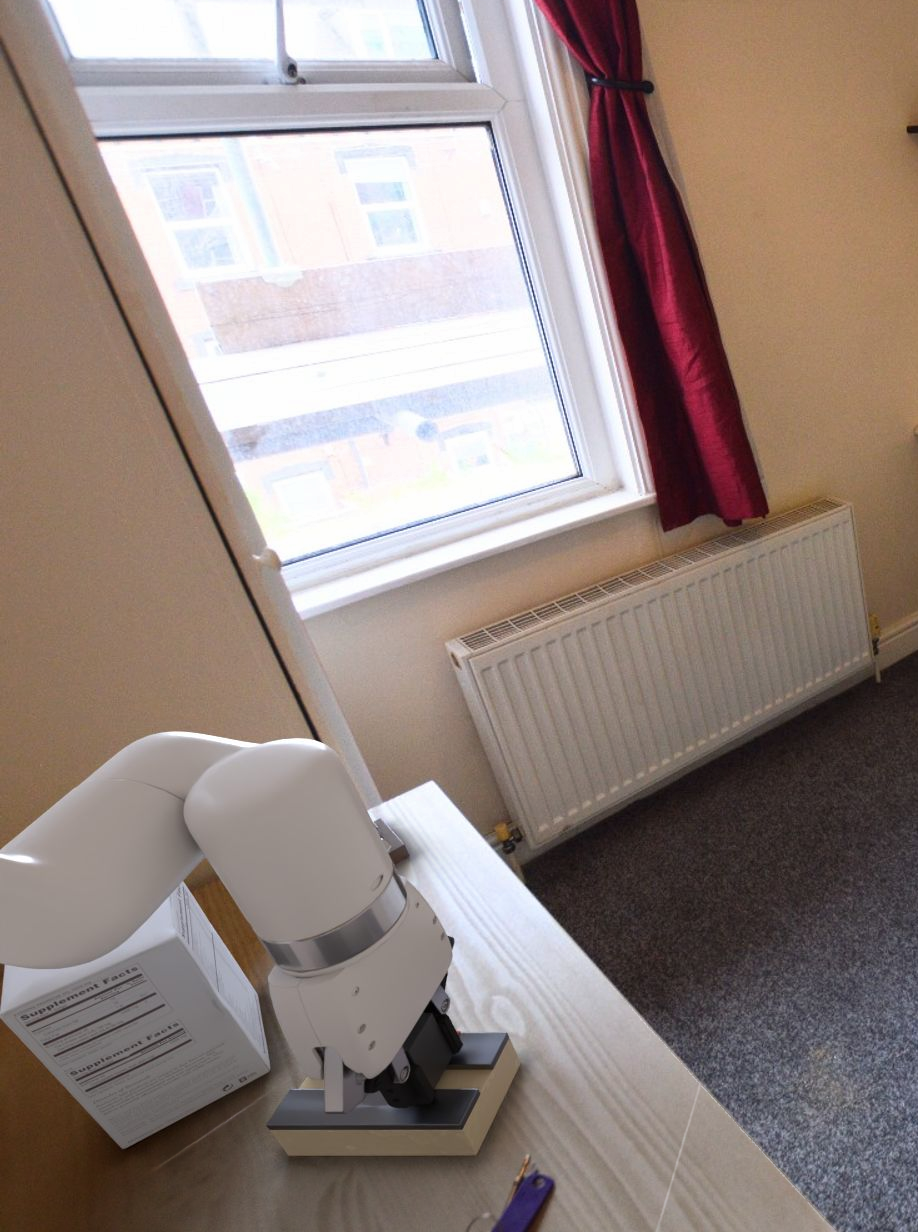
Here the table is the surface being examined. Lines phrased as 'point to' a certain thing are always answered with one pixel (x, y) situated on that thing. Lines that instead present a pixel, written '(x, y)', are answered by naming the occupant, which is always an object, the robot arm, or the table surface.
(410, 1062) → the slider
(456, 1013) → the table surface
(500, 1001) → the table surface
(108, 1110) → the supplement box
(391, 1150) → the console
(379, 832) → the button block
